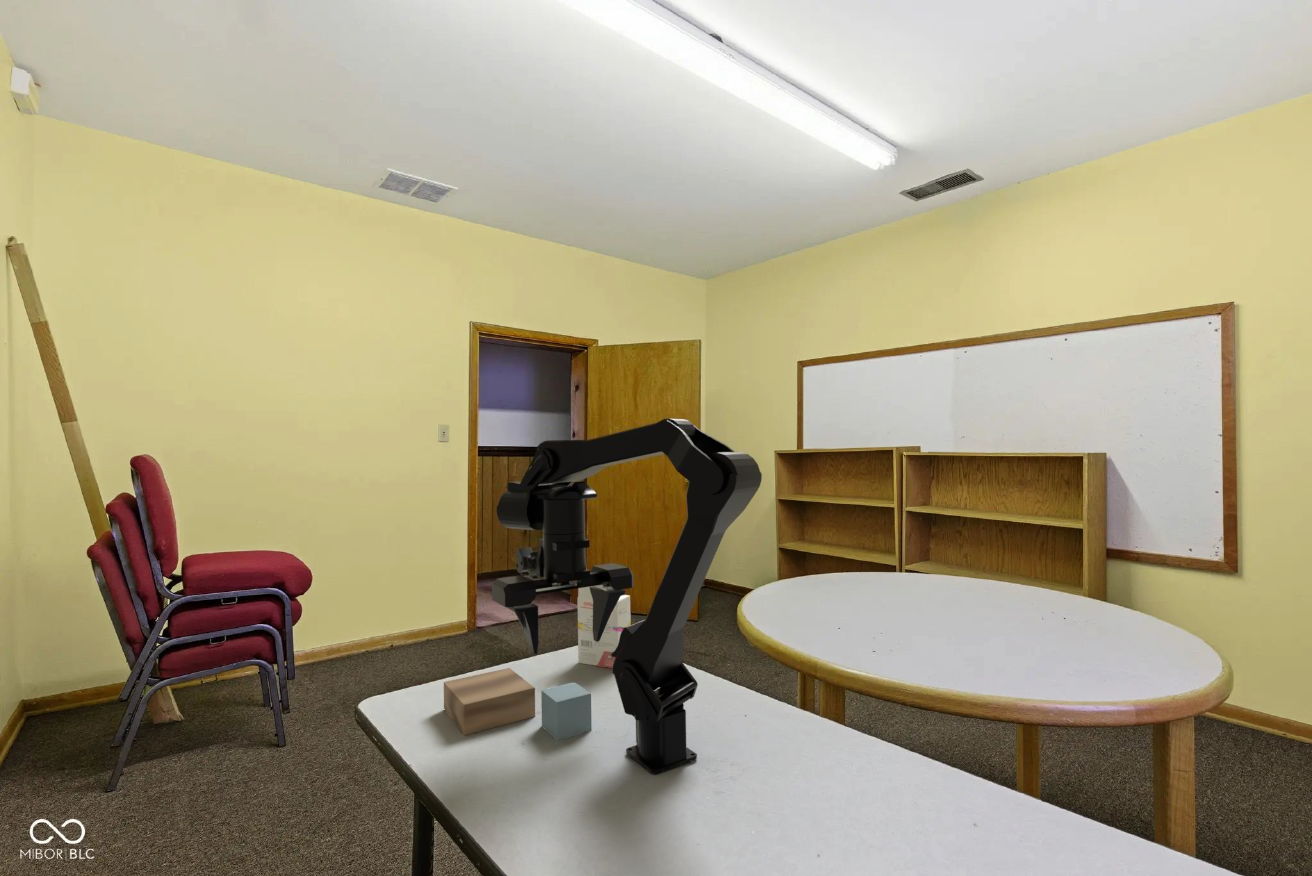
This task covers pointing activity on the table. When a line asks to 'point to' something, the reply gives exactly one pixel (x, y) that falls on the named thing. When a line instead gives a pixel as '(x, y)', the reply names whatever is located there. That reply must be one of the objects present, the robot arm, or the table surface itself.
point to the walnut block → (488, 700)
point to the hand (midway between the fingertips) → (566, 647)
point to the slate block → (566, 710)
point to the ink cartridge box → (609, 640)
